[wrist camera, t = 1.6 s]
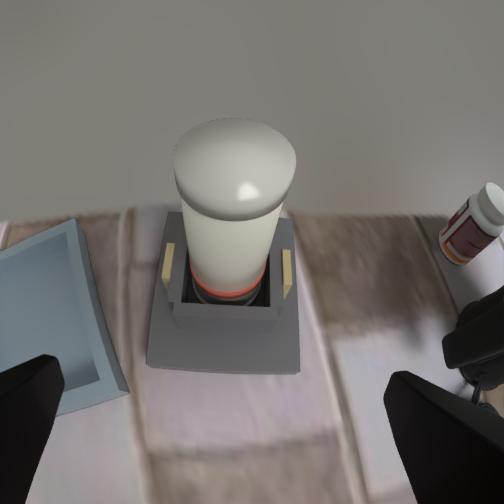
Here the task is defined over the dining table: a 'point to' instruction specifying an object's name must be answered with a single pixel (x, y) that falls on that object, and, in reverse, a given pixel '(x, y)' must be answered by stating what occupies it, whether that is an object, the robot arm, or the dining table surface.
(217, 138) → the cylinder
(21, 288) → the tray
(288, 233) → the fuse holder
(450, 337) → the milk frother
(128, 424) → the dining table surface
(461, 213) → the pill bottle
